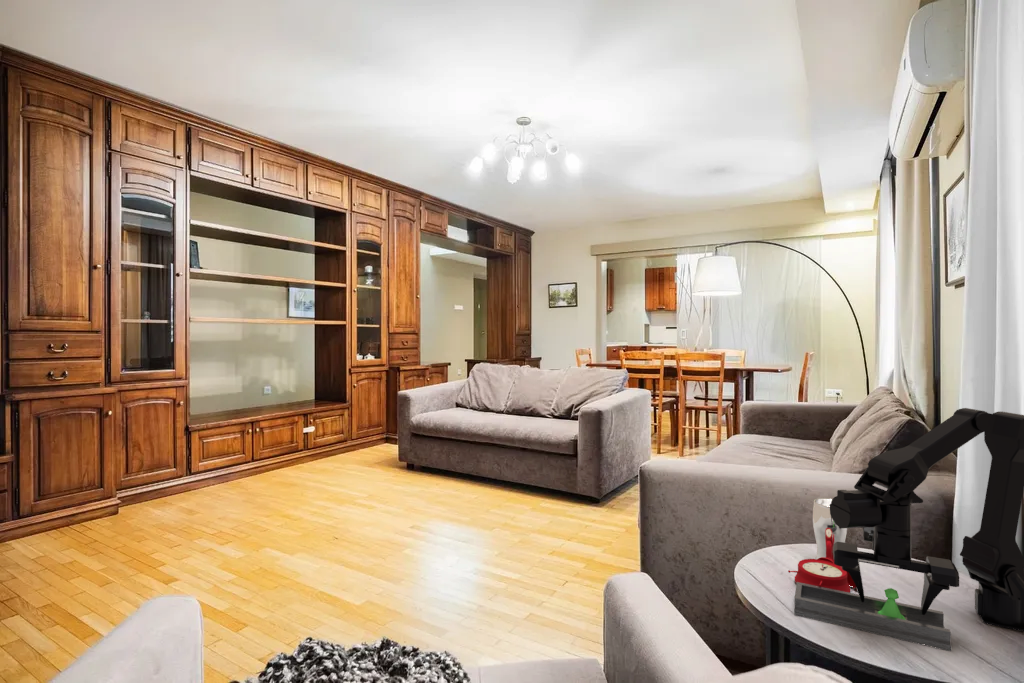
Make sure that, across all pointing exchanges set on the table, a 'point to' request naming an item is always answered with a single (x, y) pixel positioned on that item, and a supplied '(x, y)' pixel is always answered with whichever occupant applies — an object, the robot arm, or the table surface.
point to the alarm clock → (823, 574)
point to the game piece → (891, 605)
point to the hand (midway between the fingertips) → (892, 607)
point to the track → (871, 615)
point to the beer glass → (826, 529)
